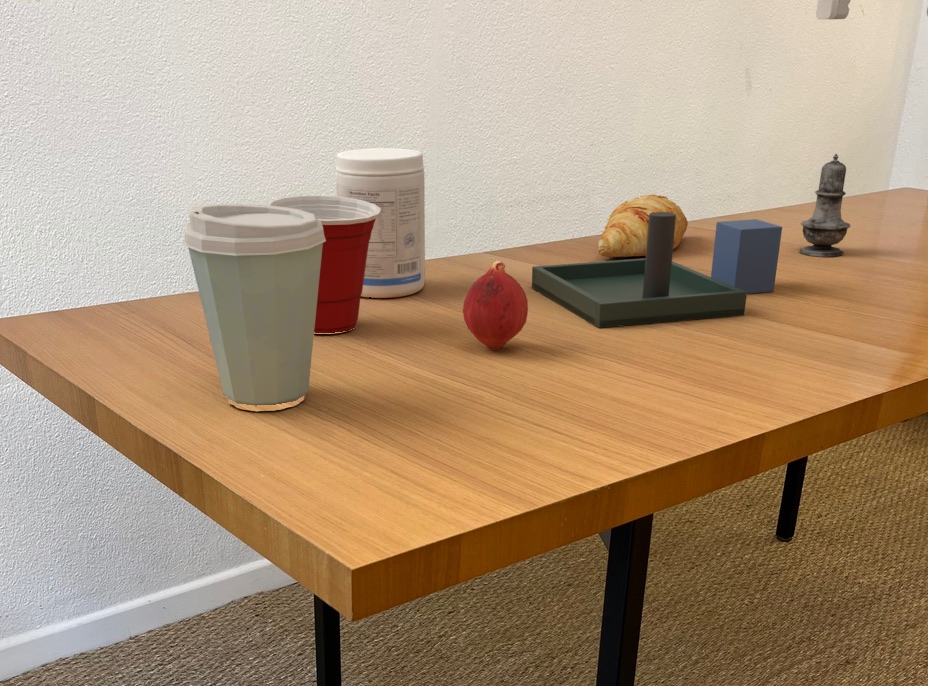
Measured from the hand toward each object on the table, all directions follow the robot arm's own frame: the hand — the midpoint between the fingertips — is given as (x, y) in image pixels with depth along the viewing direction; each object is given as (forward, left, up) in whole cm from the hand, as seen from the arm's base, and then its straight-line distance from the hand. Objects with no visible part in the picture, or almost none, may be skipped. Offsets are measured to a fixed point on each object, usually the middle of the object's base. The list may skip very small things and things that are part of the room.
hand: (887, 18), depth 76 cm
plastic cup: (+37, -28, -27) cm, 54 cm away
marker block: (-10, -30, -27) cm, 42 cm away
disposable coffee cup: (+46, -8, -27) cm, 54 cm away
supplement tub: (+28, -42, -27) cm, 57 cm away
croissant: (-9, -53, -27) cm, 61 cm away
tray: (+4, -29, -27) cm, 40 cm away
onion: (+24, -16, -27) cm, 40 cm away
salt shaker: (-30, -44, -27) cm, 60 cm away
